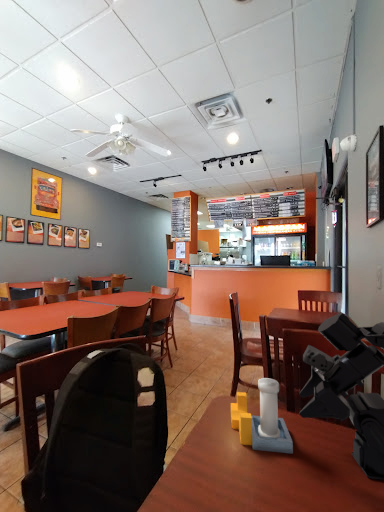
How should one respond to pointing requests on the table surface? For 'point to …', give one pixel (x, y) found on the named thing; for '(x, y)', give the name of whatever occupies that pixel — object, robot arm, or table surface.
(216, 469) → the table surface
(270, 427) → the white domed pillar
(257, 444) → the blue-grey square tray
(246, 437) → the pipe clamp
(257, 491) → the table surface
